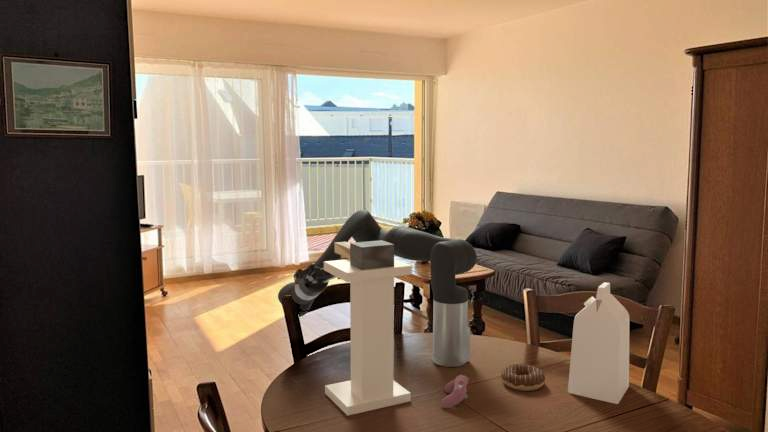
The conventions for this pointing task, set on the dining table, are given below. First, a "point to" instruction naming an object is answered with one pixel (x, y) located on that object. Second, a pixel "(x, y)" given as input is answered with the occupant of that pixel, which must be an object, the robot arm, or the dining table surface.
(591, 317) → the milk
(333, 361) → the dining table surface
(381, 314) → the stand
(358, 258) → the grey and beige blocks
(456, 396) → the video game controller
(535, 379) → the donut
